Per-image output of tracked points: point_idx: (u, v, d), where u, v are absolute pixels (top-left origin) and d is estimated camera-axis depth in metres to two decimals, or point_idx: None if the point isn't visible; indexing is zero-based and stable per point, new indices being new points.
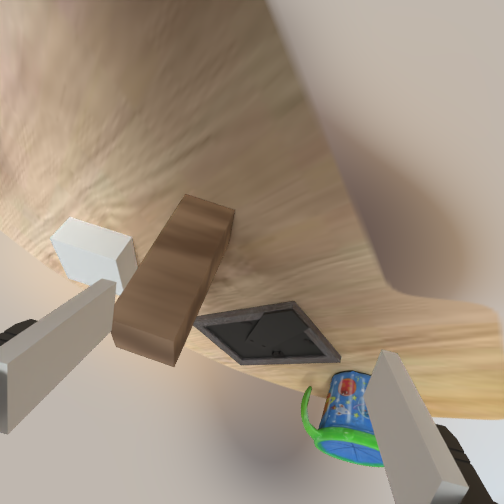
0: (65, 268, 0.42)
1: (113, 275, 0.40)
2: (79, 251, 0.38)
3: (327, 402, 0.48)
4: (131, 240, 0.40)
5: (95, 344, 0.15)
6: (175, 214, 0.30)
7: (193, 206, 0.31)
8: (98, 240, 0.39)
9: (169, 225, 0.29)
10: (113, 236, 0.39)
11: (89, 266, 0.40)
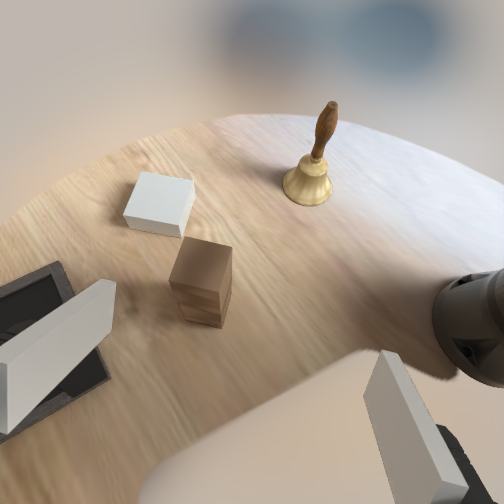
0: (156, 175, 0.50)
1: (155, 215, 0.47)
2: (183, 198, 0.49)
3: None
4: (179, 237, 0.50)
5: (95, 344, 0.15)
6: (230, 288, 0.44)
7: (228, 299, 0.45)
8: (186, 213, 0.50)
9: (230, 284, 0.43)
10: (184, 224, 0.50)
11: (163, 198, 0.49)
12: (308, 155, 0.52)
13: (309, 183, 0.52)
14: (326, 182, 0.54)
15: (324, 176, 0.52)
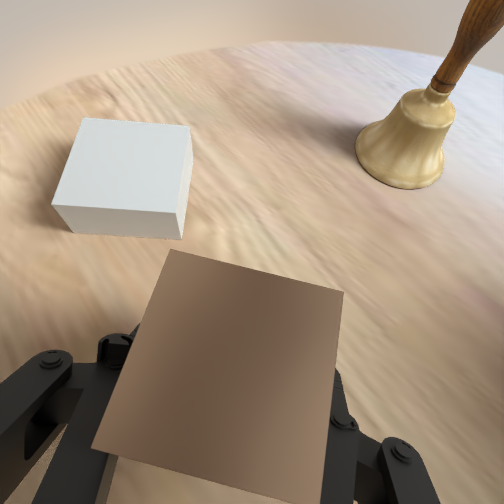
0: (113, 122, 0.25)
1: (124, 197, 0.22)
2: (175, 160, 0.24)
3: None
4: (176, 238, 0.25)
5: None
6: None
7: None
8: (184, 190, 0.25)
9: None
10: (183, 213, 0.26)
11: (135, 163, 0.24)
12: (417, 90, 0.27)
13: (418, 144, 0.27)
14: (441, 145, 0.29)
15: (447, 131, 0.27)
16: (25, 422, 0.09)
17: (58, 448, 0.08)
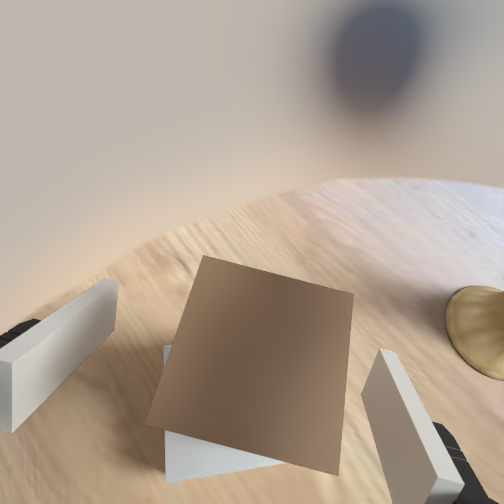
0: None
1: (239, 453, 0.21)
2: None
3: None
4: None
5: (98, 344, 0.15)
6: None
7: None
8: None
9: None
10: None
11: None
12: None
13: None
14: None
15: None
16: None
17: None
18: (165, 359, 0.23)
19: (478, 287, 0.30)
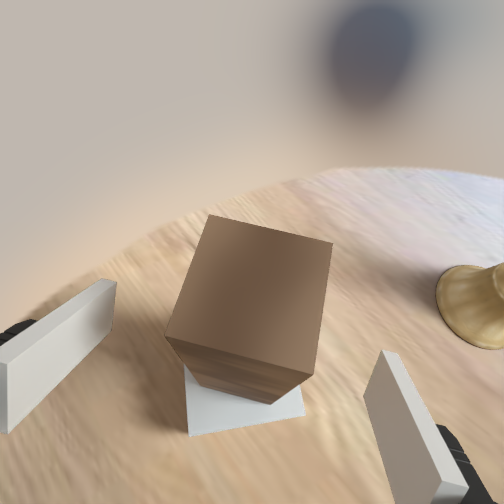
0: None
1: (253, 410, 0.23)
2: None
3: None
4: None
5: (95, 344, 0.15)
6: None
7: None
8: None
9: None
10: None
11: None
12: None
13: None
14: None
15: None
16: None
17: None
18: None
19: (466, 266, 0.33)
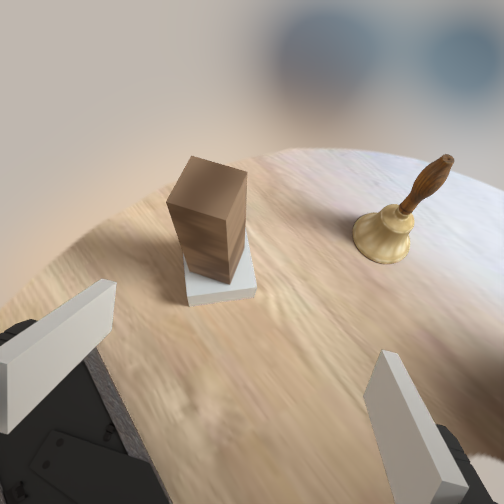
0: None
1: (225, 283, 0.38)
2: (245, 253, 0.41)
3: None
4: (251, 297, 0.42)
5: (95, 344, 0.15)
6: (244, 238, 0.38)
7: (240, 252, 0.39)
8: None
9: (244, 232, 0.36)
10: None
11: None
12: (391, 207, 0.43)
13: (391, 240, 0.44)
14: (407, 236, 0.46)
15: (409, 232, 0.44)
16: None
17: None
18: None
19: (374, 213, 0.49)
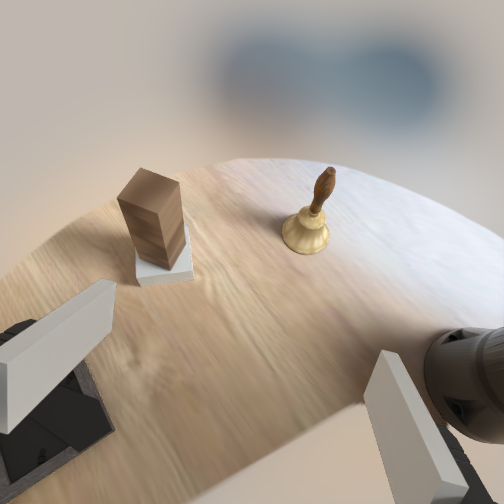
0: None
1: None
2: None
3: None
4: (191, 279, 0.52)
5: (95, 344, 0.15)
6: (184, 235, 0.48)
7: (181, 246, 0.49)
8: (191, 256, 0.52)
9: (183, 229, 0.47)
10: (192, 266, 0.53)
11: None
12: (307, 207, 0.53)
13: (307, 234, 0.53)
14: (324, 232, 0.55)
15: (322, 228, 0.53)
16: None
17: None
18: None
19: None
